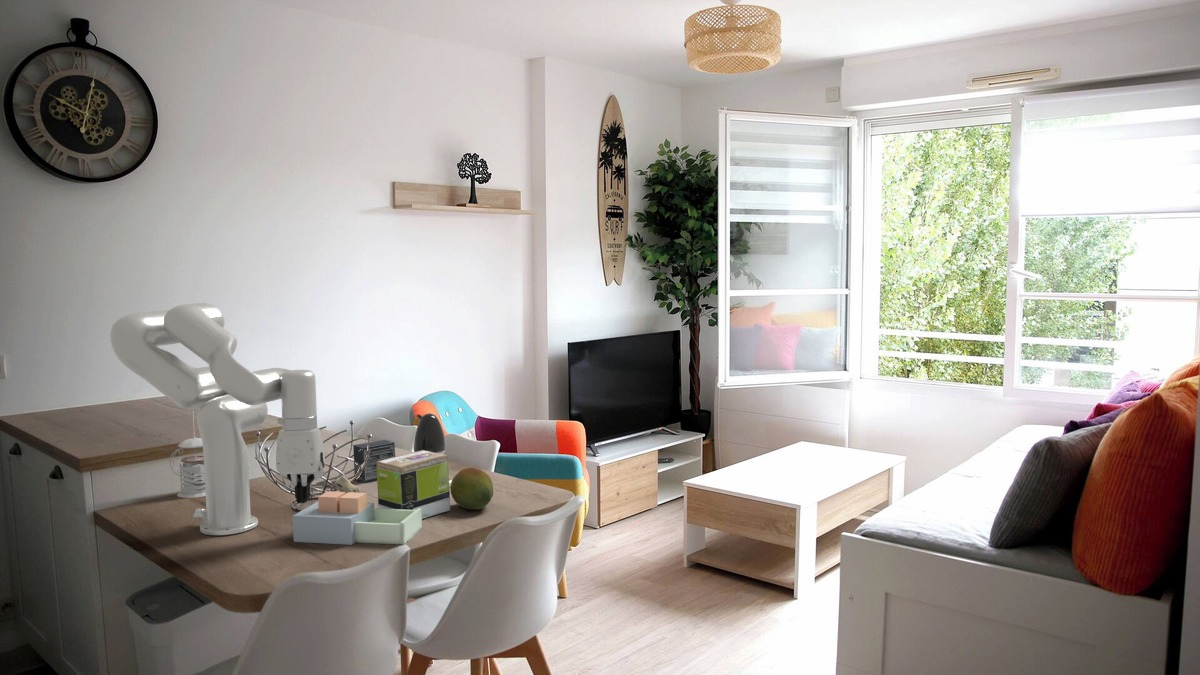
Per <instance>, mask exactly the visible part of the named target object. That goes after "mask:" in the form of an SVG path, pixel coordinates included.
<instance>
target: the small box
mask: <svg viewBox="0 0 1200 675" xmlns="http://www.w3.org/2000/svg"><path fill="white" fill-rule="evenodd" d="M369 442H370V447H369V457H368V460H367V463H366V465H365V467H364V469H363V471H362V473H361V475H360V477H359V478H358V479H357V480H356V481H358V482H360V483H363V484H366V483H372V482H377V461H381V460H385V459H389V458H393V457H396V449H395V448H396V446H395V445H396V443H395V441H391V440H388V439H380V440H376V441H374V440H373V441H369ZM367 444H368V442H364V443H357V444H353V445H352V448H353V470H354V471H353V472H354V473H353V474H354V475H355V474H356V473H357V471H358V469H359V465H361V464H362V463H363V462H364V460H365V458H366V455H367ZM360 449H363V450H361V451H359V450H360ZM358 451H359V452H358ZM355 462H356V463H358V465H356V464H355Z"/></svg>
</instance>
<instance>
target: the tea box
mask: <svg viewBox="0 0 1200 675" xmlns="http://www.w3.org/2000/svg"><path fill="white" fill-rule="evenodd" d="M448 455H449V454H445V453H444V454H439V453H434V452H429V451H425V450H422V451H418V452H415V451H413V452H411V453H406V454H401V455H398V456H395V457H393V458H389V459H385V460H381V461H377V481H376V483H377V503H378V504H377V505H378V508H381V509H403V510H417V509H418V508H422V520H423V519H427V518H429V517H432V516H436V515H440V514H442V513H445V512H448V511H451V497H450V496H451V495H450V494H451V490H450V487H449V481H450V474H449V456H448Z"/></svg>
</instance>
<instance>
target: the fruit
mask: <svg viewBox="0 0 1200 675" xmlns="http://www.w3.org/2000/svg"><path fill="white" fill-rule="evenodd" d="M451 480H452V482H451V487H450V494H451V495H450V496H451V497H452V499H453V500H454V502H455V503H456V504H457V505H458V506H460V507H462V508H465V509H467V510H481V509H483V508H485V507H486V506H487V505H488V504H489V503H490V502H491V500H492V498H493V497H494V487H493V486H494V485H493V482H492V479H491V477H490V475H489V474H488V473H486V471H484V470H483V469H480V468H476V467H466V468H463V469H461V470H459V471H458V472H457V473H456V474H455V475H454V477H453V478H452V479H451Z"/></svg>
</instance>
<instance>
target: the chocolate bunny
mask: <svg viewBox="0 0 1200 675" xmlns="http://www.w3.org/2000/svg"><path fill="white" fill-rule="evenodd" d="M334 485H335V486H336V488H337V489H338V492H346V493H348V492H356V493H362V491H361V489H360V488H359V486H357V485H354V484H352V482H351V481H350V480H349V479H348V478H347V477H346V476H345V475H341V476H340V477H339V479H337V480H335V481H334Z"/></svg>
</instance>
